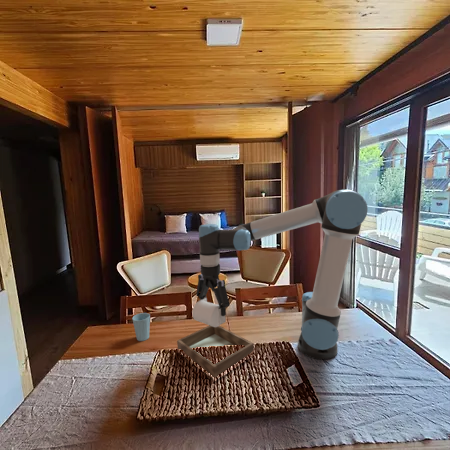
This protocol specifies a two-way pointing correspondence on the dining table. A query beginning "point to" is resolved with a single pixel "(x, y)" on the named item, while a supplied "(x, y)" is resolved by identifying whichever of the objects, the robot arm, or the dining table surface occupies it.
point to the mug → (206, 313)
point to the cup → (142, 326)
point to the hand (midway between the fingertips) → (213, 318)
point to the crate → (214, 338)
